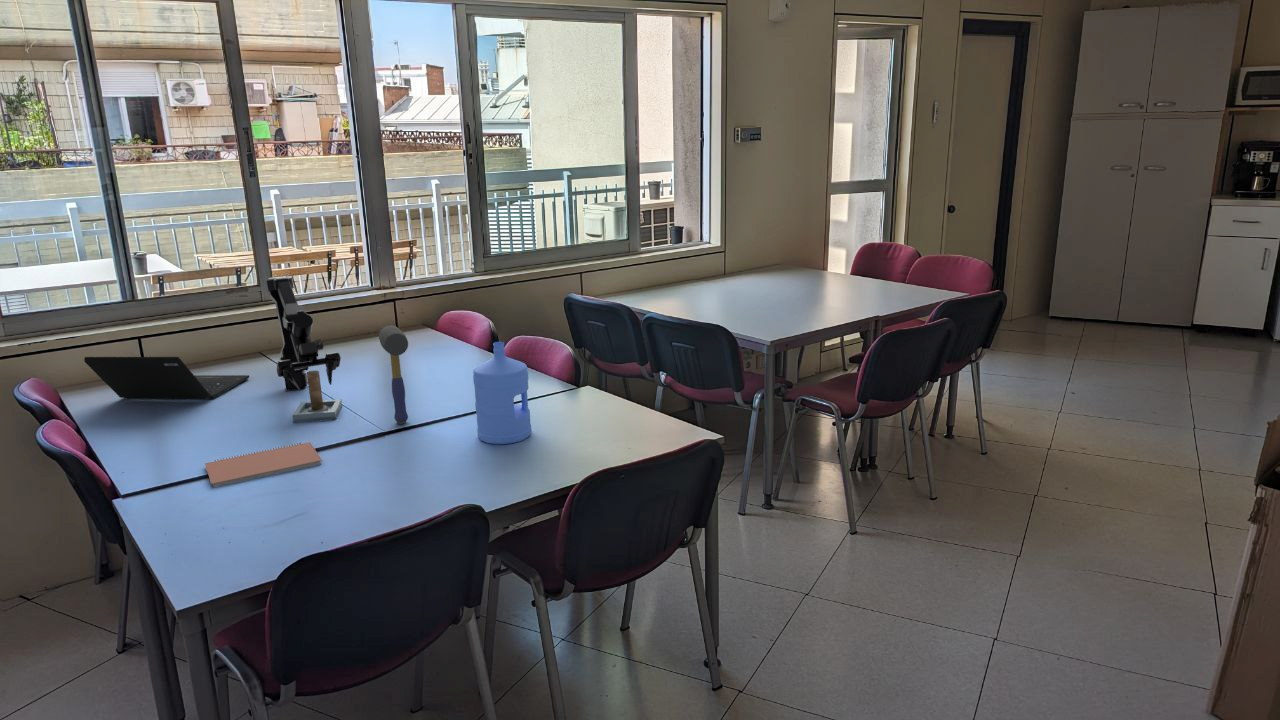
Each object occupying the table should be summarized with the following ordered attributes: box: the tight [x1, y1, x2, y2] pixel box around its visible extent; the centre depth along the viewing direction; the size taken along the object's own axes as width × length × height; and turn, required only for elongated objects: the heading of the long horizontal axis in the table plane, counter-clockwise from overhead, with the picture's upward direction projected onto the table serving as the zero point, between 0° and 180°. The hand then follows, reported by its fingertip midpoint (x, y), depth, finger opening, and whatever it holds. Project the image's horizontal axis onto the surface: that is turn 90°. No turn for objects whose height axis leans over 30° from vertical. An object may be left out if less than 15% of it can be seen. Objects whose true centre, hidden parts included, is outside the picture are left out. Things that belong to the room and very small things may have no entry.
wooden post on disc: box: [306, 370, 328, 412], centre depth 265 cm, size 6×6×13 cm
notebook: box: [204, 441, 323, 488], centre depth 228 cm, size 27×17×2 cm, turn 122°
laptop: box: [83, 356, 250, 400], centre depth 287 cm, size 33×38×19 cm
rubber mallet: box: [378, 324, 409, 425], centre depth 254 cm, size 12×8×30 cm, turn 25°
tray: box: [292, 398, 343, 424], centre depth 267 cm, size 13×13×2 cm
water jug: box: [472, 341, 532, 445], centre depth 242 cm, size 16×16×28 cm
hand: (315, 386), depth 263 cm, fingers open, 9 cm apart
